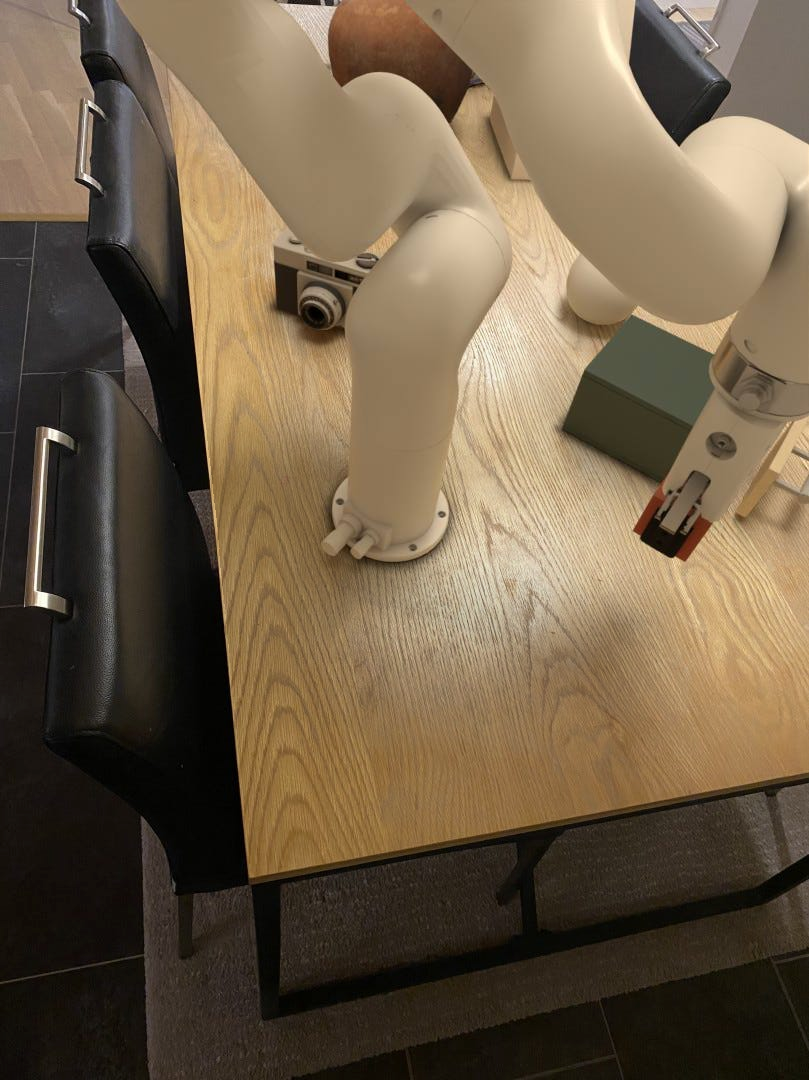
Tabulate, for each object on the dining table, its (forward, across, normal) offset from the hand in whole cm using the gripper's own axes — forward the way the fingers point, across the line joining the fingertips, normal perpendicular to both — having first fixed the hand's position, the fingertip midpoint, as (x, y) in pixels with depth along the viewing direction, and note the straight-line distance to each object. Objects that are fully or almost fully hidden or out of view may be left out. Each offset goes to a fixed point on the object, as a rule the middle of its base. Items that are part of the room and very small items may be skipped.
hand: (672, 524), depth 65 cm
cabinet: (+15, +25, +10) cm, 31 cm away
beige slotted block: (+16, +74, +52) cm, 92 cm away
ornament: (+16, +41, +24) cm, 50 cm away
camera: (+16, +14, +51) cm, 55 cm away
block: (0, 0, 0) cm, 0 cm away
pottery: (+15, +61, +74) cm, 97 cm away
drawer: (+15, +26, -1) cm, 30 cm away
